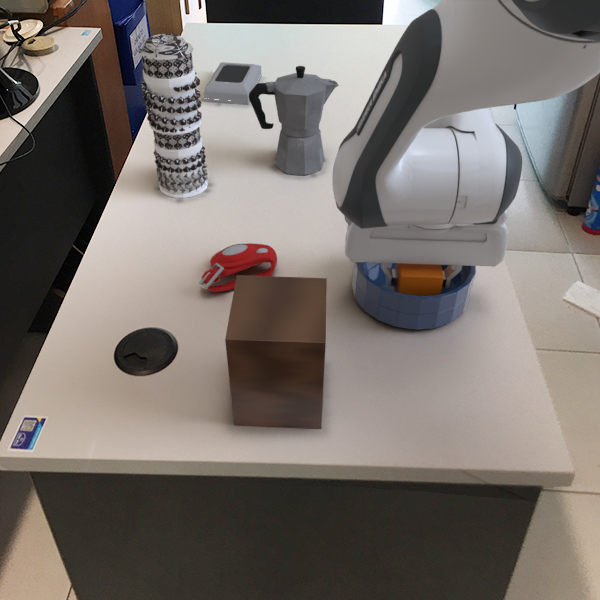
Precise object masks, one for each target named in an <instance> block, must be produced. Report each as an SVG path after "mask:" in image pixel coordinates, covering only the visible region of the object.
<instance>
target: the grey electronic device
mask: <svg viewBox="0 0 600 600" xmlns="http://www.w3.org/2000/svg"><path fill="white" fill-rule="evenodd" d="M260 75H261V76H260ZM259 77H260V78H259ZM258 79H259V80H258ZM261 80H262V65H259V64H255V63H242V62H241V63H240V62H239V63H238V62H225V61H223V62H220V63H219V65H218V67H216V69H215V70H214V72H213V74H212V76H211V77H210V79H209V80H208V82H207V84H206V85H205V87H204V89H203V100H204V102H207V103H221V104H235V105H247V106H248V105H249V104H250V103H251V102H250V100H249V93H250V92H251V90H252V89H253V88H254V87H255V86H256V83H257V84H258V83H260V81H261ZM257 81H258V82H257ZM204 98H207V99H204ZM208 98H209V99H208ZM214 99H219V100H214ZM228 100H231V101H228Z"/></svg>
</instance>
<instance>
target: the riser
mask: <svg viewBox="0 0 600 600" xmlns="http://www.w3.org/2000/svg"><path fill="white" fill-rule="evenodd" d="M235 280H236V282H235V288H234V289H233V292H232V293H233V294H232V299H231V303H230V304H231V305H230V310H229V317H228V322H227V327H226V333H225V336H224V337H225V338H224V341H225V342H224V343H225V353H226V361H227V372H228V382H229V391H230V401H231V412H232V419H233V420H232V421H233V426H243V427H245V426H246V427H266V428H267V427H269V428H291V429H293V428H294V429H295V428H296V429H320V430H321V429H322V426H323V424H322V423H323V407H324V406H323V405H324V404H323V403H324V387H325V386H324V385H325V384H324V383H325V366H326V365H325V363H326V348H327V347H326V346H327V343H326V342H327V292H328V291H327V283H328V278H327V277H303V276H301V277H300V276H272V275H270V276H250V275H241V274H240V275H239V274H236V278H235Z"/></svg>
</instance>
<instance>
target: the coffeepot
mask: <svg viewBox="0 0 600 600" xmlns="http://www.w3.org/2000/svg"><path fill="white" fill-rule="evenodd" d="M305 71H306V66H304V65H297V66H295V72H294V73H290V74H286V75H282V76H279V77H276V80H275V81H266V82H259V83H258V84H256V86H255V87H254V88H253V89H252V90H251V92H250V93H249V100H250V102H249V103H250V104H251V106H252V109H253V111H254V114H255V116H256V118H257V121H258V123H259V126H260V128H261V129H262V130H271V129H272V130H273V128H274V125H275V124H274V123H269V122H267V121H266V120H267V119H266V113H265V111H264V110H263V105H262V101H261V99H260V96H261V95H267V96H274V100H275V106H276V111H277V118H278V122H279V123H280V124H281V128H280V131H279V137H278V143H277V149H276V155H275V162H274V165H275V166H276V167H277V168H278V170H280V171H281V172H283V173H286V174H288V175H293V176H307V175H313V174H315V173H318V171H320V170H322V168H323V166H324V162H325V155H324V154H325V153H324V147H323V141H322V140H323V139H322V134H321V133H322V132H321V129H320V123H321V121H322V116H323V111H324V106H325V104H326V103H327V101H328V99H329V98H330V96H331V94H332V93H333V92H334V91H335V89H336V88H337V87H339V86H340V85H339V83H338V82H337V81H336V80H332V79H330V78H322V77H320V76H319V75H316V74H310V73H305Z"/></svg>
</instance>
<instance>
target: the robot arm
mask: <svg viewBox="0 0 600 600" xmlns="http://www.w3.org/2000/svg"><path fill="white" fill-rule="evenodd" d="M599 74H600V0H441V1H440V2H438V4H436V6H434V7H432V8H431V9H428V10H426V11H425V12H423V13H422V14H421V15H419V16H417V17H416V18H414V19H413V20H412V21H411V22H410V23H409V24H408V25H407V27H406V28H405V30H404V32H403V33H402V35H401V36H400V38H399V40H398V42H397V43H396V45H395V46H394V49H393V51H392V52H391V54H390V56H389V58H388V60H387V62H386V63H385V66H384V67H383V69H382V72H381V73H380V75H379V78H378V79H377V82H376V84H375V85H374V88H373V89H372V91H371V93H370V95H369V98H368V100H367V102H366V104H365V105H364V108H363V109H362V111H361V113H360V115H359V117H358V119H357V121H356V124H354V127H353V128H352V129H351V130H350V131H349V132H348V133H347V135H346V136H345V137H344V139H343V140H342V141H341V142H340V145H339V147H338V150H337V153H336V156H335V158H334V163H333V167H332V177H331V178H332V181H331V182H332V192H333V198H334V200H335V201H334V202H335V205H336V208H337V210H338V211H339V212H340V213H341V214H342V215H343V216H344V220H345V223H346V224H347V226H346V231H345V236H344V237H345V239H344V255H345V257H346V258H347V259H348V260H349V261H350V262H351V263H354V262H369V263H381V269H382V270H383V272H384V273H385V275H386V286H397V282H398V271H397V269H392V268H391V267H392V263H401V264H433V265H448V267H447V268H446V269H445V270H444V271H443V276H444V279H443V284H442V288H449V284H450V280H451V279H452V278H453V277H455V276H456V275H457V274H458V273H459V272H460V271H461V270H462V265H464V266H476V267H497V266H498V265H499V264H501V263H502V262H504V260H505V257H506V255H507V249H508V241H509V230H508V227H507V224H506V222H507V220H508V218H509V211H508V208H509V207H510V206H511V204H512V203H513V202H514V200H515V199H516V197H517V193H518V191H519V190H518V189H519V186H520V182H521V177H522V171H523V156H522V152H521V149H520V148H519V146H518V145H517V144H516V143H515V141H514V140H513V139H512V138H511V137H510V136H509V135H508V134H507V132H505V130H504V129H502V127H500V126H499V125H498V124H497V123H496V121H495V118H494V114H493V111H492V108H497V107H506V106H512V105H520V104H527V103H528V104H529V103H536V102H541V101H548V100H551V99H554V98H558V97H560V96H564V95H566V94H569V93H571V92H574V91H575V90H578V89H579V88H581V87H582V86H584V85H585V84H586V83H588V82H589V81H591V80H592V79H594V78H596V76H597V75H599Z"/></svg>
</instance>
